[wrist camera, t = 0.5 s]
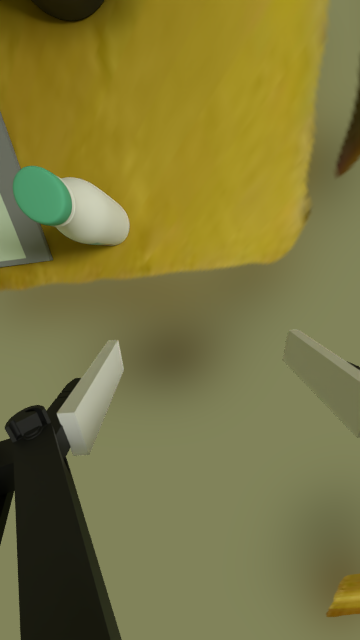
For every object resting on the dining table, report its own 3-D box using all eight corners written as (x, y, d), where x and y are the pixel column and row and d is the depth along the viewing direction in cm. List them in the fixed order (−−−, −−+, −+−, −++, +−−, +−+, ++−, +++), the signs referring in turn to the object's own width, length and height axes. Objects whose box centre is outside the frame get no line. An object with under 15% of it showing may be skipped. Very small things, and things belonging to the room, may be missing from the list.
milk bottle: (111, 190, 33) (31, 116, 15) (138, 229, 36) (99, 208, 17) (80, 218, 35) (-29, 181, 16) (108, 253, 37) (42, 258, 18)
